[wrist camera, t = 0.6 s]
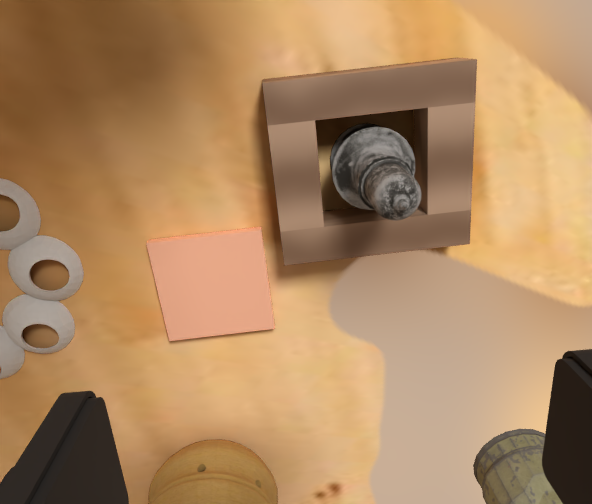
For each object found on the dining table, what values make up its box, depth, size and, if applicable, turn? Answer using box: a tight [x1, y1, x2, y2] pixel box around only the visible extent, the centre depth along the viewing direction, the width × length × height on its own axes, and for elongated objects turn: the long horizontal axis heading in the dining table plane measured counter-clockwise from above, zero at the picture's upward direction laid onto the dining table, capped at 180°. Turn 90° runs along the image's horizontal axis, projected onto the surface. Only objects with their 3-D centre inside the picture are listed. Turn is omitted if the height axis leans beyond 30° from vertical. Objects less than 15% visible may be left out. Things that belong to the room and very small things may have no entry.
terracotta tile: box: [146, 227, 275, 341], centre depth 41 cm, size 9×9×1 cm
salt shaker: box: [330, 123, 421, 221], centre depth 33 cm, size 6×6×12 cm
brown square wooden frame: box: [262, 58, 477, 265], centre depth 36 cm, size 13×14×4 cm
